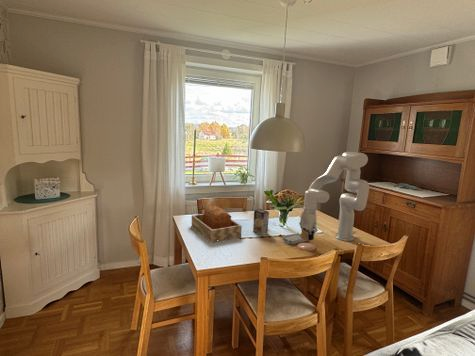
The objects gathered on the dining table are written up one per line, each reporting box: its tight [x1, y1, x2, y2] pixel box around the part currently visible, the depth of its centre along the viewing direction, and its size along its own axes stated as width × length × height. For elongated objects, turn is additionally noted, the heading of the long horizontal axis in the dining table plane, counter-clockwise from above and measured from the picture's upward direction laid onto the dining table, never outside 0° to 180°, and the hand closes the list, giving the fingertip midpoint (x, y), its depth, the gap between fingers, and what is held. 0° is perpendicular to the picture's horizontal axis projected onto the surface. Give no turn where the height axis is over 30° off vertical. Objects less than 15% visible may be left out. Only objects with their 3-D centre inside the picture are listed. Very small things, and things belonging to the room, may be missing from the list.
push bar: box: [283, 235, 301, 245], centre depth 187 cm, size 12×5×3 cm, turn 123°
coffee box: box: [252, 208, 270, 236], centre depth 200 cm, size 9×6×16 cm
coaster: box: [297, 242, 316, 252], centre depth 179 cm, size 11×11×1 cm
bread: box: [202, 205, 233, 230], centre depth 203 cm, size 14×26×16 cm, turn 27°
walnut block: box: [300, 229, 315, 242], centre depth 178 cm, size 6×6×6 cm
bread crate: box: [191, 213, 243, 243], centre depth 200 cm, size 22×34×8 cm, turn 31°
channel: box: [282, 232, 307, 245], centre depth 189 cm, size 14×9×2 cm, turn 121°
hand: (307, 237), depth 178 cm, fingers closed on walnut block, 5 cm apart
